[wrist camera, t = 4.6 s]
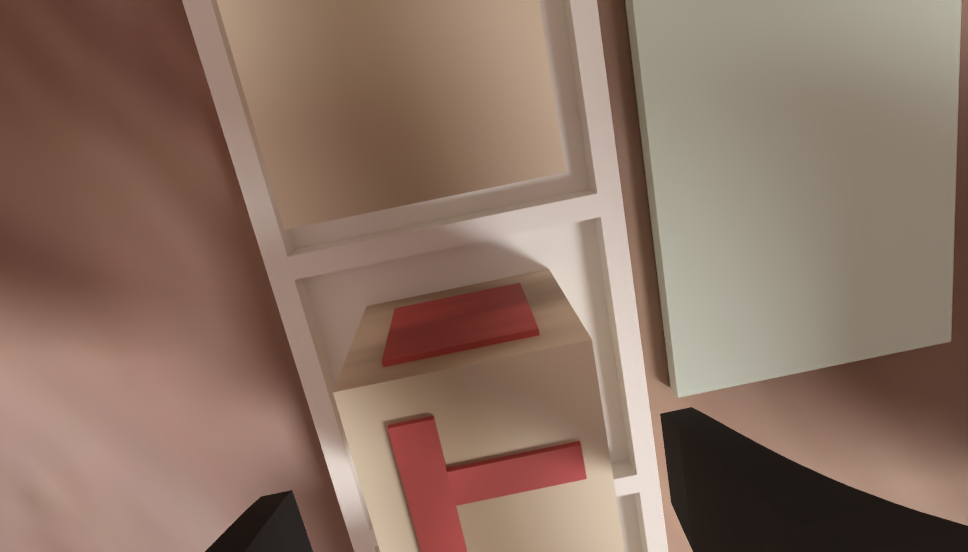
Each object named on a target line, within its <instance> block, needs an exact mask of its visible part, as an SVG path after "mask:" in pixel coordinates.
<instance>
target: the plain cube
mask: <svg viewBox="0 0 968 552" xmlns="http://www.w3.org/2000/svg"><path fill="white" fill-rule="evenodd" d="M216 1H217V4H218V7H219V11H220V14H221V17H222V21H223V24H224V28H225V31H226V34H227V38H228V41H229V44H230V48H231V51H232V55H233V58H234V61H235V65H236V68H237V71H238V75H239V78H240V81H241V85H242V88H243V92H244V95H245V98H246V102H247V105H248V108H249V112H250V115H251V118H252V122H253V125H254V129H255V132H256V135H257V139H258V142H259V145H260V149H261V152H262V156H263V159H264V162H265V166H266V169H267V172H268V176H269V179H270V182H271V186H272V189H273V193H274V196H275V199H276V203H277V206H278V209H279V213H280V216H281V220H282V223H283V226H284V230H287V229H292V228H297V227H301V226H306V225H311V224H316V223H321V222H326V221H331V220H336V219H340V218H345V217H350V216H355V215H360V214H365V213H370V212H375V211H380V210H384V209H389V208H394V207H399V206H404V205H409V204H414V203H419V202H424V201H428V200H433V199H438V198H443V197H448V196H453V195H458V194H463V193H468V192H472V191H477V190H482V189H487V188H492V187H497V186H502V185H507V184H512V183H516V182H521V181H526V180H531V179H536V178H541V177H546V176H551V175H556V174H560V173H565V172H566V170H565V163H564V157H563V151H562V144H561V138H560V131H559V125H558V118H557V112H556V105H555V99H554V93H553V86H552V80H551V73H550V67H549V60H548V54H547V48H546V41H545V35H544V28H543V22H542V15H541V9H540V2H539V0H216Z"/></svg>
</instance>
